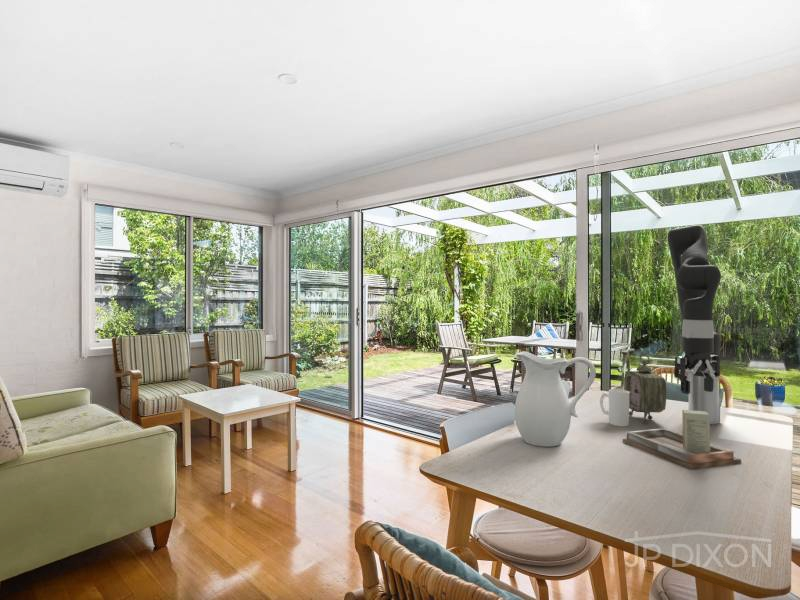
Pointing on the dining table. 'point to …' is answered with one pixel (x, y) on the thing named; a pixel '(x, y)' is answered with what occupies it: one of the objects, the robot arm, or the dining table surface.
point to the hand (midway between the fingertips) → (697, 392)
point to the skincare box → (696, 431)
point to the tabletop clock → (645, 390)
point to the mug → (617, 407)
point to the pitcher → (546, 399)
